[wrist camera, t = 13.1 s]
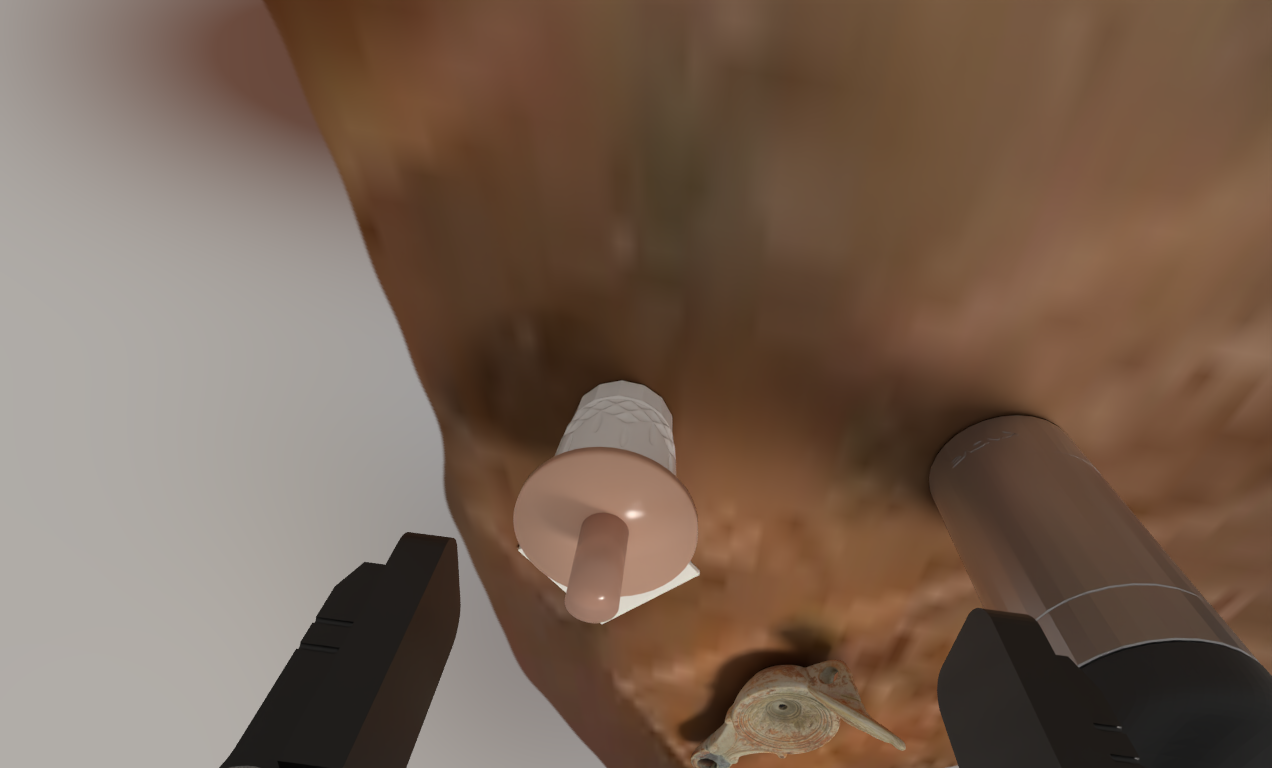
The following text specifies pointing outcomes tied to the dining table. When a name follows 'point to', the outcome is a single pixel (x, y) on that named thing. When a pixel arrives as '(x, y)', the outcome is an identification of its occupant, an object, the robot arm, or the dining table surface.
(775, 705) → the oil lamp
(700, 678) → the dining table surface
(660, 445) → the white cup
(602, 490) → the lid
